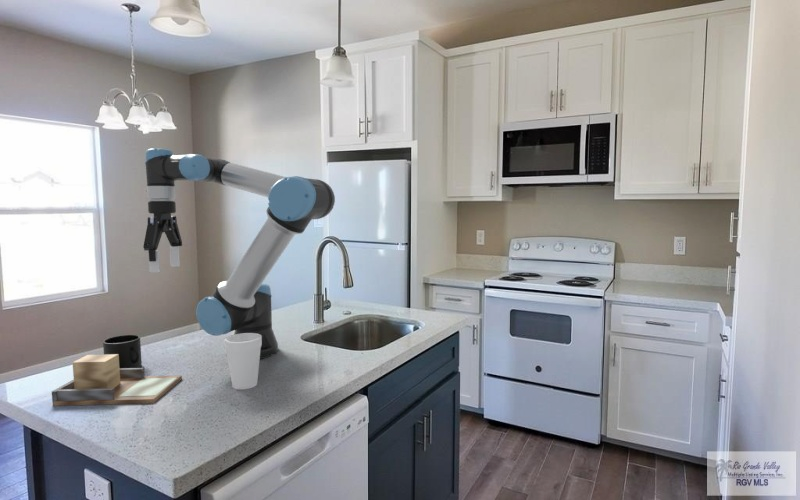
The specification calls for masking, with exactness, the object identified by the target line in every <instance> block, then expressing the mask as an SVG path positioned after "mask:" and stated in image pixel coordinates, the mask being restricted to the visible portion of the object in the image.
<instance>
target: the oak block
mask: <svg viewBox="0 0 800 500" xmlns="http://www.w3.org/2000/svg"><path fill="white" fill-rule="evenodd" d="M72 373H73V375H72V376H73V379H74V389H102V388H114V387H116V386H117V385H119V384H120V368H119V354H105V355H104V354H86V355H85V356H82V357H80V358H78V359H76V360H74V361H72Z"/></svg>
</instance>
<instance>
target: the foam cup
mask: <svg viewBox="0 0 800 500" xmlns="http://www.w3.org/2000/svg"><path fill="white" fill-rule="evenodd" d="M261 346H262V335H260V334H256V333H241V334H235V335H234V334H231V335H228V336H227V337H225V338H224V350H225V353H226V358H227V363H228V369H229V374H230V381H231V386H232V388H233V389H235V390H249V389H252V388H255V387H256V386H257V385H258V380H259V379H258V378H259V369H260V359H261V358H260V350H261Z"/></svg>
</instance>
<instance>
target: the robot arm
mask: <svg viewBox="0 0 800 500" xmlns="http://www.w3.org/2000/svg"><path fill="white" fill-rule="evenodd" d="M144 164H145V169H146V170H145V172H146V173H145V174H146V175H145V176H146V187H147V189H146V193H147V199H148V200H149V201H147V210H148V211H147V212H148V213H149V214H153V216H148V217H147V226H146V231H145V235H144V236H145V237H144V241H143V250H144V251H147V252H148V253H147V254H148V268H149V269H148V271H149V273H160V272H161V265H160V250H159V249H158V247H159V244H160V242H161V238H162V235H163V233H164V234H165V236H166V238H167V240H168V243H169V245H170V246H169V247H168V249H169V263H170V264H169V266H170V267H172V268H176V267H178V268H180V266H181V264H180V261H181V260H180V247H183V241H182V235H181V233H180V229H179V226H178V221H177V215H172V214H175V213H176V212H177V207H176V201H175V200H176V188H175V187H176V186H175V184H176V183H175V181H192V182H193V181H195V182H204V183H205V182H207V183H215V184H218V185H222V186H226V187H231V188H233V189H236V190H237V189H238V190H241V191H244V192H247V193H251V194H254V195H258V196H262V197H264V198H265V197H266V198H267V199H268V207H267V209H266V211H265V212H266V215H267V219H266V221H265V222H264V224H263V225H262V226H261V228H260V230H259V231H258V233H257V235H256V236H255V238H254V239H253V240H252V242H251V244H250V246H249V247H248V248H247V250H246V251H245V253H244V255H243V256H242V258H241V259H240V260H239V262H238V264H237V266H236V267H235V268H234V270H233V272H232V273H231V275H230V276H229V278H228V279H227V280H223V281H221V282H219V284H218V285H217V286H216V288H215V290H214V291H213V293H212V294H211V295H210V296H205V297H204V298H202V299H201V300H200V301H199V302H198V304H197V306H196V310H195V315H196V316H195V317H196V319H197V322H198V324H199V326H200V328H201V329H202V330H203V331H204V332H205V333H206V334H208V335H211V336H215V337H218V336H222V335H223V336H224V335H226V334H229V333H231V332H233V331H234V333H233V335H235V334H241V333H256V334H260V335H262V346H261V350H260V359H264V358H269V357H272V356H274V355H276V354H277V353H278V352H279V343H278V341H277V337H276V336H275V335H276V334H275V332H274V330H273V320H272V315H273V314H272V297H273V296H272V292H271V287H270V285H269V284H266V283H265V284H264V281H265V280H266V278H267V276H268V275H269V274H270V272H271V270H273V268H274V266H275V265H276V263H277V262H278V260H279V259H280V257H281V256H282V254H283V253H284V251H285V250H286V248H287V247H288V246H289V244H290V242H291V241H292V240H293V238H294V236H295V235H300V234H303V233H304V231H305V230H306V228H307V227H308V226H309V224H310V222H311V221H312V220H319V219H322V218H326V216H328V215H329V214H330V213H331V212H332V210H333V209H334V206H335V202H336V197H335V193H334V190H333V188H332V187H331V186H330V185H329V184H328V183H327V182H326V181H323V180H321V179H317V178H316V179H315V178H305V177H303V176H297V175H296V176H295V175H294V176H287V177H286V176H283V175H279V174H275V173H272V172H267V171H263V170H260V169H257V168H253V167H248V166H245V165H242V164H241V165H240V164H239V163H233V162H231V161H228V160H225V159H221V158H218V159H217V158H210V157H205V156H203V155H202V154H199V153H198V154H197V153H196V154H195V153H188V154H178V155H176V154H175V155H174V153H173V150H171V149H167V148H149V149H147V150H146V151H145V162H144Z"/></svg>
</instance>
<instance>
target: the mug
mask: <svg viewBox="0 0 800 500" xmlns="http://www.w3.org/2000/svg"><path fill="white" fill-rule="evenodd" d="M102 345H103V347H102V349H103V355H105V354H119V368H142V366H143V364H142V363H143V362H142V345H141V336H140V335H137V334H126V335H125V334H123V335H117V336H112V337H109V338H106V339H104V340H103V341H102Z"/></svg>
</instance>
